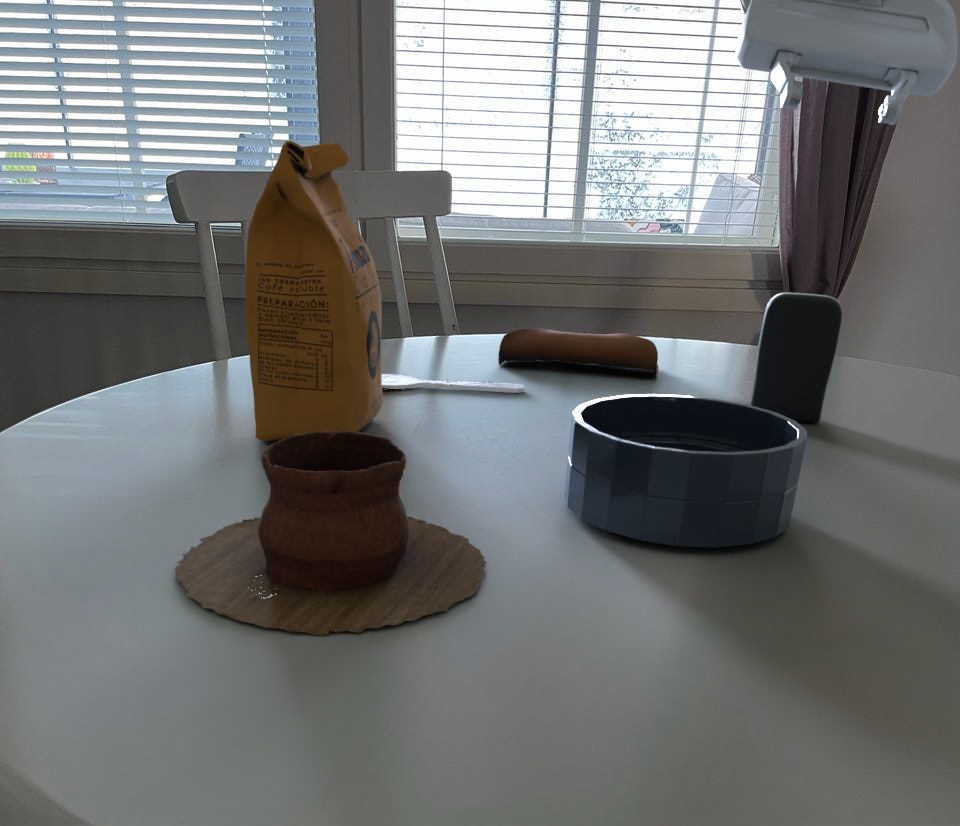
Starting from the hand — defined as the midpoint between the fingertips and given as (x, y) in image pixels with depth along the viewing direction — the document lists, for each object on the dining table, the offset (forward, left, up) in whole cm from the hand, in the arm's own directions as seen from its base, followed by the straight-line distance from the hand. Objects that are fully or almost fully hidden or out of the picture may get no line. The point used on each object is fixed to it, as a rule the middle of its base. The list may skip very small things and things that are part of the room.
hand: (840, 111), depth 87 cm
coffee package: (+46, +21, -27) cm, 57 cm away
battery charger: (+3, +10, -27) cm, 28 cm away
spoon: (+37, +3, -26) cm, 46 cm away
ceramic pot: (+41, +50, -27) cm, 70 cm away
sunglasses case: (+21, -10, -27) cm, 35 cm away
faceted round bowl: (+19, +39, -26) cm, 51 cm away
